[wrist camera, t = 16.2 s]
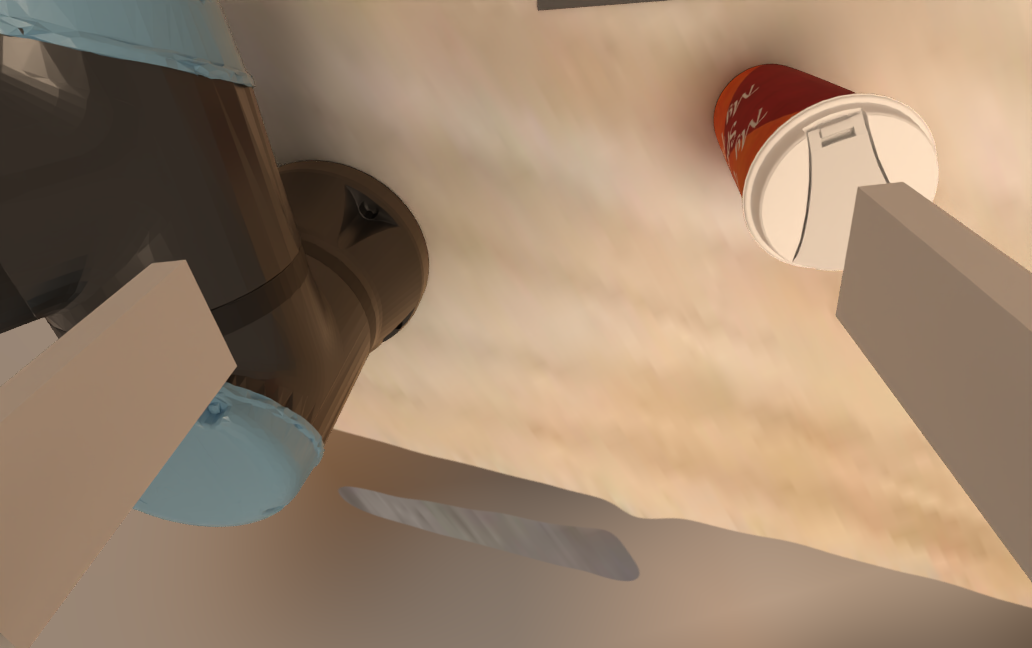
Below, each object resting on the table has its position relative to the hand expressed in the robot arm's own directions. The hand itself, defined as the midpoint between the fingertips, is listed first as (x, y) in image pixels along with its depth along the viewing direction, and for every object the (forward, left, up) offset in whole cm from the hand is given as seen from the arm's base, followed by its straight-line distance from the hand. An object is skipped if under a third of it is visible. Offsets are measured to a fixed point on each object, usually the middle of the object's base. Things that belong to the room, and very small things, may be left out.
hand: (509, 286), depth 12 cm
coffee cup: (+13, -5, -31) cm, 34 cm away
